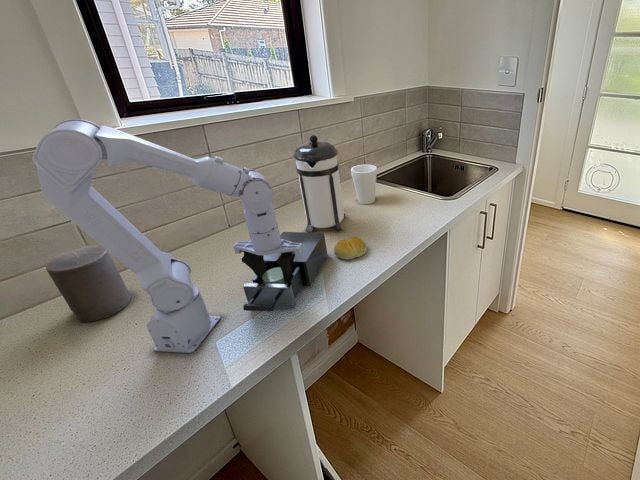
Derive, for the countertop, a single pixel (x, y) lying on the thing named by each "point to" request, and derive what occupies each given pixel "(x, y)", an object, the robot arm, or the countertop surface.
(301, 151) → the coffee press
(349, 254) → the bread roll
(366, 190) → the foam cup
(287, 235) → the drawer cabinet
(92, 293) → the pillar candle
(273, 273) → the green short cylinder
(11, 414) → the countertop surface
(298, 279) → the dish drawer
